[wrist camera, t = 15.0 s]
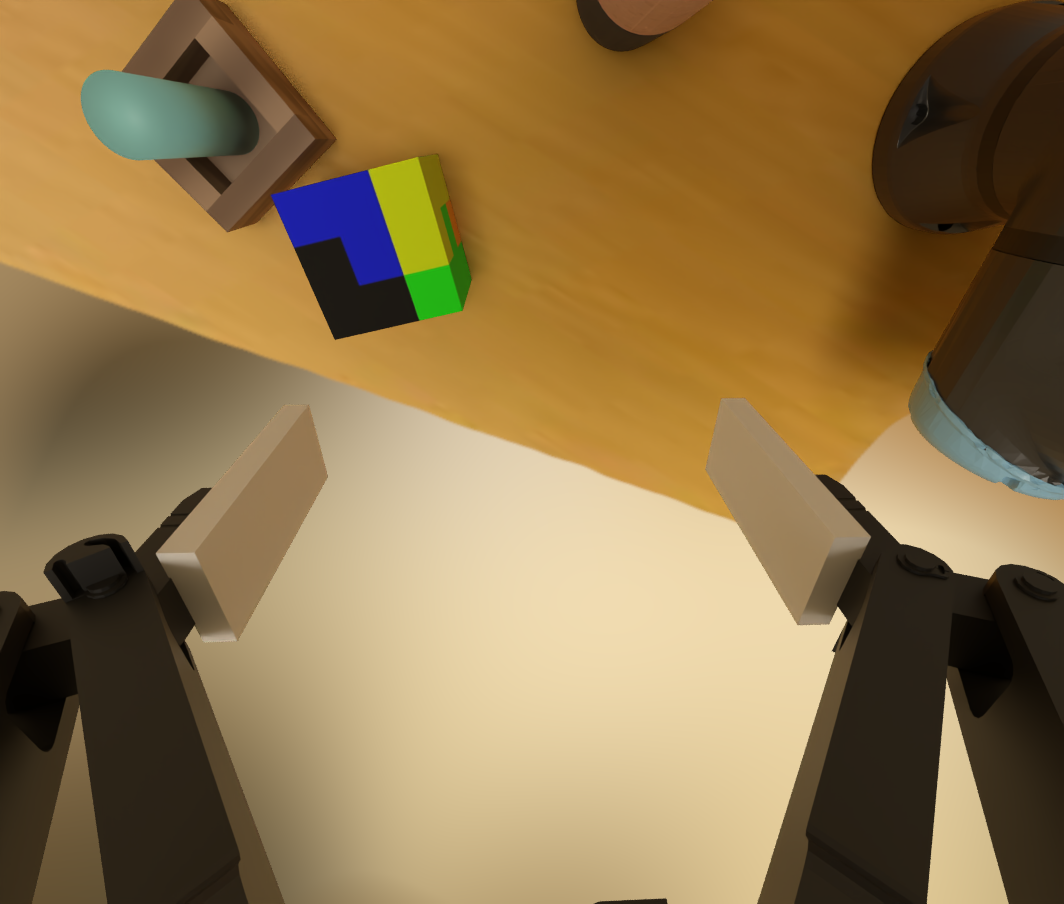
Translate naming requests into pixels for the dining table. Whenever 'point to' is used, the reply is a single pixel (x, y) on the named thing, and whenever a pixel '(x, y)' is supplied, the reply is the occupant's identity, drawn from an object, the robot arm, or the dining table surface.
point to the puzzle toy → (379, 246)
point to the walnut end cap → (244, 69)
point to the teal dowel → (166, 117)
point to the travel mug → (634, 20)
